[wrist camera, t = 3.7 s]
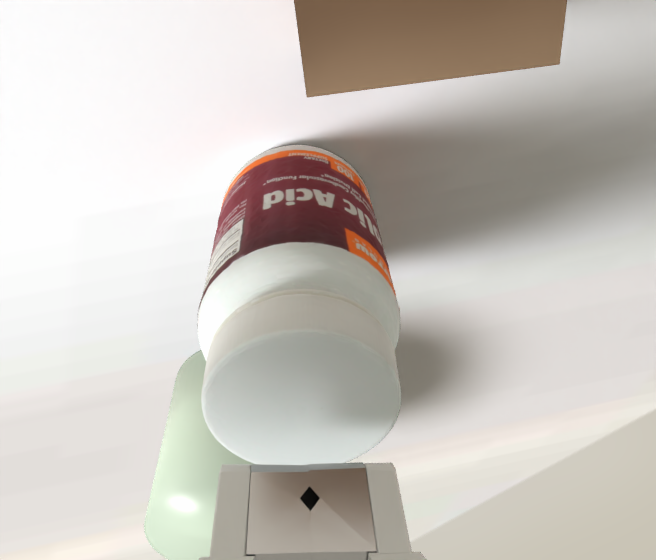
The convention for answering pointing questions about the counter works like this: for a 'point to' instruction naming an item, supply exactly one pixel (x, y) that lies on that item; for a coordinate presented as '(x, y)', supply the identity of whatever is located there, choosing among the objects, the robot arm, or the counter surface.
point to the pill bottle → (299, 314)
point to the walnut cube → (422, 40)
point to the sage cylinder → (186, 473)
